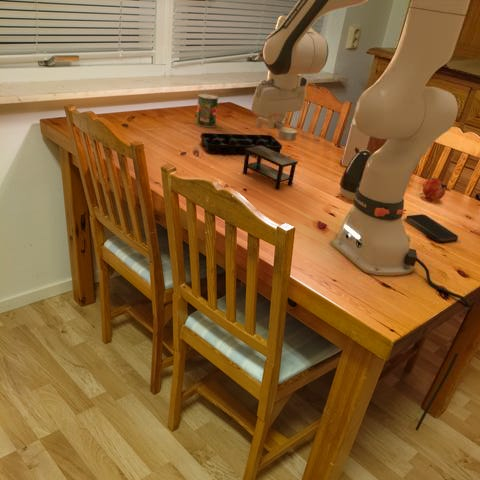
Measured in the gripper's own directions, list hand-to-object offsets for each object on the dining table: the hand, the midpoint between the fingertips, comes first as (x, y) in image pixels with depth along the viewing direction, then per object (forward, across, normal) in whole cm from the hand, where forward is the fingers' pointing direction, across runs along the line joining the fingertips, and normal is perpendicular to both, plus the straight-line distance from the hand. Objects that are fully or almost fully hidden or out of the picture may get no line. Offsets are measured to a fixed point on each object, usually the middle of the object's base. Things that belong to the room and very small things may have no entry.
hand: (274, 128), depth 148 cm
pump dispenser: (+16, +14, -24) cm, 33 cm away
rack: (+16, 0, 0) cm, 16 cm away
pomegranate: (+17, +39, -39) cm, 58 cm away
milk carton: (+16, +41, -6) cm, 45 cm away
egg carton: (+16, +13, +25) cm, 32 cm away
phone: (+17, +16, -51) cm, 56 cm away
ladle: (+2, 0, 0) cm, 2 cm away
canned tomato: (+16, +21, +54) cm, 60 cm away
